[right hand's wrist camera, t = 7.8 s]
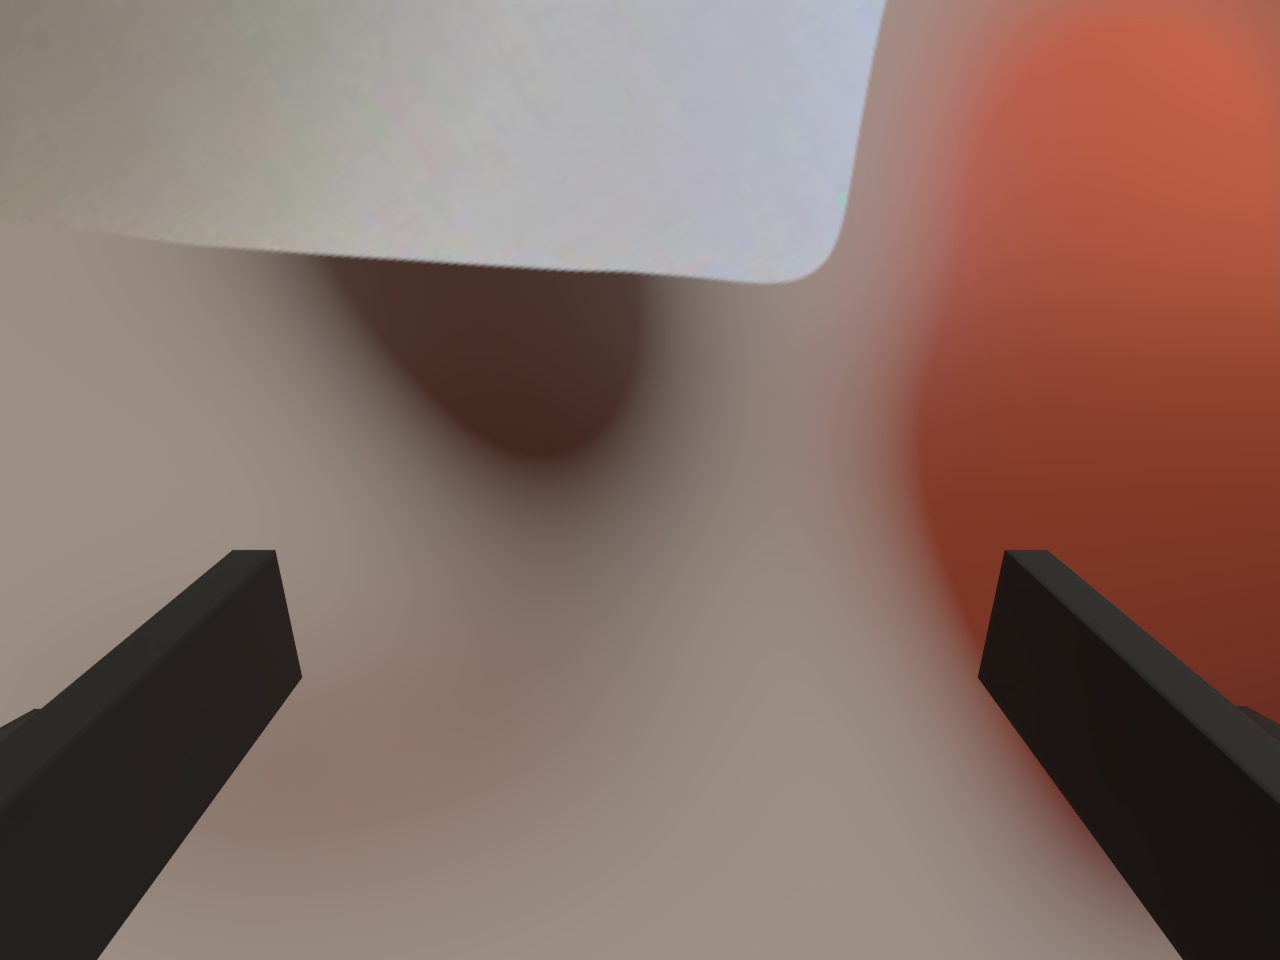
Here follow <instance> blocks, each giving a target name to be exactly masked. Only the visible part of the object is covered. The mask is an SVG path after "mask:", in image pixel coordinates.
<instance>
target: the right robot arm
mask: <svg viewBox="0 0 1280 960" xmlns="http://www.w3.org/2000/svg"><path fill="white" fill-rule="evenodd" d="M301 678H302V674H301V670H300V665H299V660H298V655H297V651H296V646H295V641H294V636H293V632H292V627H291V622H290V617H289V613H288V608H287V603H286V598H285V594H284V589H283V584H282V580H281V575H280V570H279V565H278V561H277V556H276V551H275V550H232V551H231V552H230V553H229V554H227V555H226V556H225V557H224V558H223V559H221V560H220V561H219V562H218V563H217V564H215V565H214V566H213V567H212V568H211V569H209V570H208V571H207V572H206V573H205V574H203V575H202V576H201V577H200V578H198V579H197V580H196V581H195V582H194V583H192V584H191V585H190V586H189V587H188V588H186V589H185V590H184V591H183V592H182V593H180V594H179V595H178V596H177V597H176V598H174V599H173V600H172V601H171V602H170V603H168V604H167V605H166V606H165V607H164V608H162V609H161V610H160V611H159V612H157V613H156V614H155V615H154V616H153V617H151V618H150V619H149V620H148V621H147V622H145V623H144V624H143V625H142V626H141V627H139V628H138V629H137V630H136V631H135V632H133V633H132V634H131V635H130V636H129V637H127V638H126V639H125V640H124V641H122V642H121V643H120V644H119V645H118V646H116V647H115V648H114V649H113V650H112V651H110V652H109V653H108V654H107V655H106V656H104V657H103V658H102V659H101V660H100V661H98V662H97V663H96V664H95V665H94V666H92V667H91V668H90V669H89V670H87V671H86V672H85V673H84V674H83V675H81V676H80V677H79V678H78V679H77V680H75V681H74V682H73V683H72V684H71V685H69V686H68V687H67V688H66V689H65V690H63V691H62V692H61V693H60V694H59V695H57V696H56V697H55V698H54V699H53V700H51V701H50V702H49V703H48V704H46V705H45V706H44V707H43V708H42V709H33V710H32V711H30V712H28V713H26V714H24V715H23V716H21V717H19V718H17V719H15V720H13V721H12V722H10V723H8V724H6V725H4V726H3V727H1V728H0V960H97V959H98V958H99V956H100V955H101V953H102V952H103V951H104V949H105V948H106V947H107V945H108V944H109V942H110V941H111V940H112V938H113V937H114V935H115V934H116V933H117V931H118V930H119V929H120V927H121V926H122V925H123V923H124V922H125V920H126V919H127V918H128V916H129V915H130V914H131V912H132V911H133V909H134V908H135V907H136V905H137V904H138V902H139V901H140V900H141V898H142V897H143V896H144V894H145V893H146V892H147V890H148V889H149V887H150V886H151V885H152V883H153V882H154V881H155V879H156V878H157V876H158V875H159V874H160V872H161V871H162V870H163V868H164V867H165V865H166V864H167V863H168V861H169V860H170V859H171V857H172V856H173V854H174V853H175V852H176V850H177V849H178V848H179V846H180V845H181V843H182V842H183V841H184V839H185V838H186V837H187V835H188V834H189V832H190V831H191V830H192V828H193V827H194V825H195V824H196V823H197V821H198V820H199V818H200V817H201V816H202V814H203V813H204V812H205V810H206V809H207V808H208V806H209V805H210V803H211V802H212V801H213V799H214V798H215V797H216V795H217V794H218V792H219V791H220V790H221V788H222V787H223V785H224V784H225V783H226V781H227V780H228V779H229V777H230V776H231V774H232V773H233V772H234V770H235V769H236V768H237V766H238V765H239V764H240V762H241V761H242V759H243V758H244V757H245V755H246V754H247V752H248V751H249V750H250V748H251V747H252V746H253V744H254V743H255V742H256V740H257V739H258V737H259V736H260V735H261V733H262V732H263V731H264V729H265V728H266V726H267V725H268V724H269V722H270V721H271V720H272V718H273V717H274V715H275V714H276V713H277V711H278V710H279V709H280V707H281V706H282V704H283V703H284V702H285V700H286V699H287V697H288V696H289V695H290V693H291V692H292V691H293V689H294V688H295V686H296V685H297V684H298V682H299V681H300V680H301ZM978 678H979V680H980V681H981V682H982V684H983V685H984V687H985V688H986V689H987V691H988V692H989V693H990V695H991V696H992V697H993V699H994V700H995V702H996V703H997V704H998V706H999V707H1000V709H1001V710H1002V711H1003V713H1004V714H1005V715H1006V717H1007V718H1008V720H1009V721H1010V722H1011V724H1012V725H1013V726H1014V728H1015V729H1016V731H1017V732H1018V733H1019V735H1020V736H1021V737H1022V739H1023V740H1024V742H1025V743H1026V744H1027V746H1028V747H1029V748H1030V750H1031V751H1032V753H1033V754H1034V755H1035V757H1036V758H1037V759H1038V761H1039V762H1040V764H1041V765H1042V766H1043V768H1044V769H1045V770H1046V772H1047V773H1048V775H1049V776H1050V777H1051V779H1052V780H1053V781H1054V783H1055V784H1056V786H1057V787H1058V788H1059V790H1060V791H1061V792H1062V794H1063V795H1064V797H1065V798H1066V799H1067V801H1068V802H1069V803H1070V805H1071V806H1072V808H1073V809H1074V810H1075V812H1076V813H1077V814H1078V816H1079V817H1080V819H1081V820H1082V821H1083V823H1084V824H1085V825H1086V827H1087V828H1088V830H1089V831H1090V832H1091V834H1092V835H1093V837H1094V838H1095V839H1096V841H1097V842H1098V843H1099V845H1100V846H1101V847H1102V849H1103V850H1104V852H1105V853H1106V854H1107V856H1108V857H1109V859H1110V860H1111V861H1112V863H1113V864H1114V865H1115V867H1116V868H1117V869H1118V871H1119V872H1120V874H1121V875H1122V876H1123V878H1124V879H1125V881H1126V882H1127V883H1128V885H1129V886H1130V887H1131V889H1132V890H1133V892H1134V893H1135V894H1136V896H1137V897H1138V898H1139V900H1140V901H1141V903H1142V904H1143V905H1144V907H1145V908H1146V909H1147V911H1148V912H1149V914H1150V915H1151V916H1152V918H1153V919H1154V920H1155V922H1156V923H1157V925H1158V926H1159V927H1160V929H1161V930H1162V931H1163V933H1164V934H1165V936H1166V937H1167V938H1168V940H1169V941H1170V942H1171V944H1172V945H1173V946H1174V948H1175V949H1176V951H1177V952H1178V953H1179V955H1180V956H1181V958H1182V959H1183V960H1280V725H1279V724H1278V723H1276V722H1274V721H1272V720H1270V719H1268V718H1267V717H1265V716H1263V715H1261V714H1259V713H1258V712H1256V711H1254V710H1252V709H1250V708H1248V707H1236V706H1235V705H1234V704H1232V703H1231V702H1230V701H1229V700H1227V699H1226V698H1225V697H1224V696H1223V695H1221V694H1220V693H1219V692H1218V691H1217V690H1215V689H1214V688H1213V687H1212V686H1211V685H1209V684H1208V683H1207V682H1206V681H1205V680H1203V679H1202V678H1201V677H1200V676H1199V675H1197V674H1196V673H1195V672H1194V671H1193V670H1191V669H1190V668H1189V667H1188V666H1186V665H1185V664H1184V663H1183V662H1182V661H1180V660H1179V659H1178V658H1177V657H1176V656H1174V655H1173V654H1172V653H1171V652H1170V651H1168V650H1167V649H1166V648H1165V647H1164V646H1162V645H1161V644H1160V643H1159V642H1158V641H1156V640H1155V639H1154V638H1153V637H1151V636H1150V635H1149V634H1148V633H1147V632H1145V631H1144V630H1143V629H1142V628H1141V627H1139V626H1138V625H1137V624H1136V623H1135V622H1133V621H1132V620H1131V619H1130V618H1129V617H1127V616H1126V615H1125V614H1124V613H1123V612H1121V611H1120V610H1119V609H1118V608H1117V607H1115V606H1114V605H1113V604H1112V603H1110V602H1109V601H1108V600H1107V599H1106V598H1104V597H1103V596H1102V595H1101V594H1100V593H1098V592H1097V591H1096V590H1095V589H1094V588H1092V587H1091V586H1090V585H1089V584H1088V583H1086V582H1085V581H1084V580H1083V579H1082V578H1080V577H1079V576H1078V575H1077V574H1075V573H1074V572H1073V571H1072V570H1071V569H1069V568H1068V567H1067V566H1066V565H1065V564H1063V563H1062V562H1061V561H1060V560H1059V559H1057V558H1056V557H1055V556H1054V555H1053V554H1051V553H1050V552H1049V551H1048V550H1005V551H1004V556H1003V561H1002V565H1001V570H1000V575H999V580H998V584H997V589H996V594H995V599H994V603H993V608H992V613H991V618H990V622H989V627H988V632H987V636H986V641H985V646H984V651H983V655H982V660H981V665H980V670H979V674H978Z"/></svg>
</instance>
